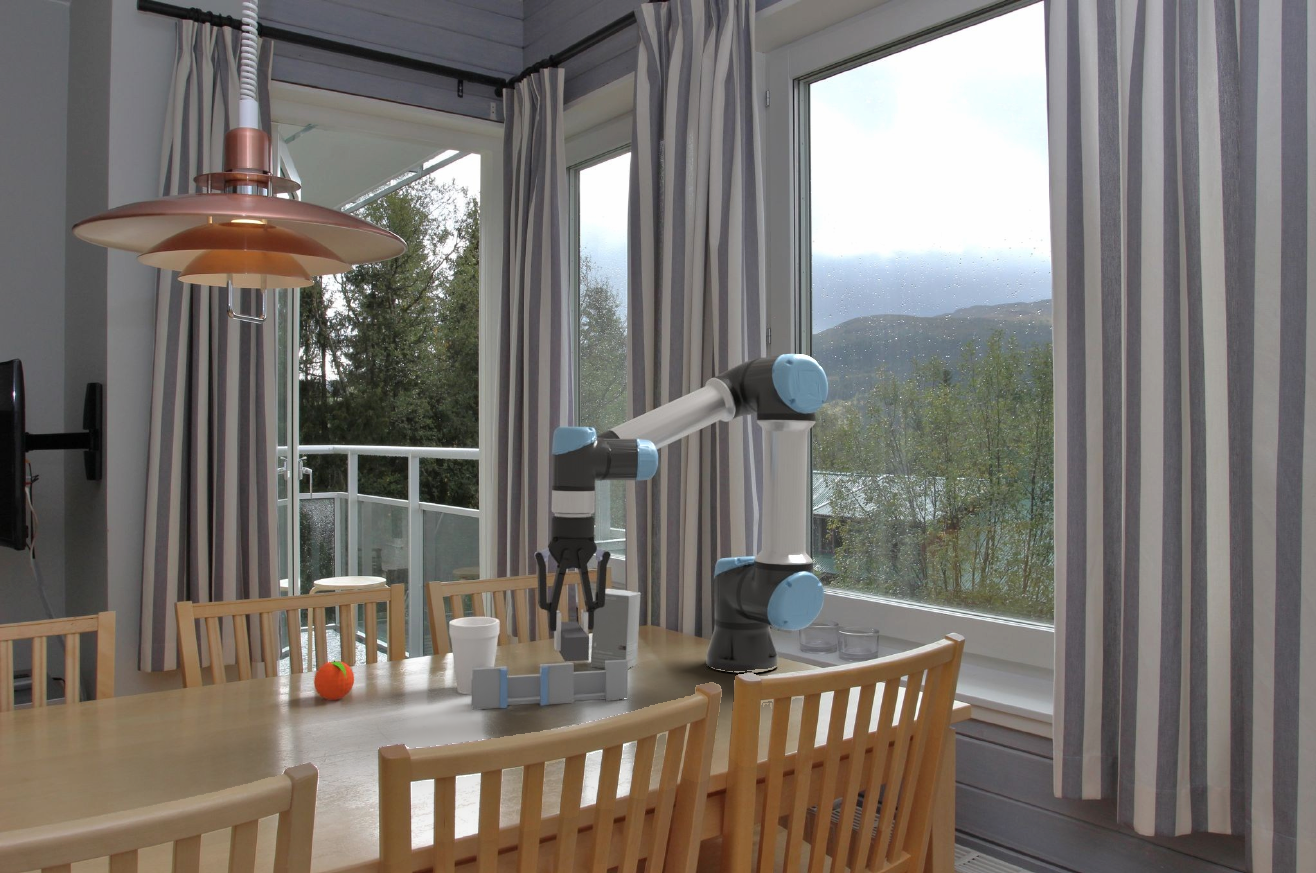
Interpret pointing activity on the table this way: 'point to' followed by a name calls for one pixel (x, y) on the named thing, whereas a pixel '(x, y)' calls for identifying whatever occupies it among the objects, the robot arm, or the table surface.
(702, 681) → the table surface
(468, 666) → the foam cup
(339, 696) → the clementine
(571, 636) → the dark grey bar
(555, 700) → the grey slotted rail
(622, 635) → the skincare box
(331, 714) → the table surface
